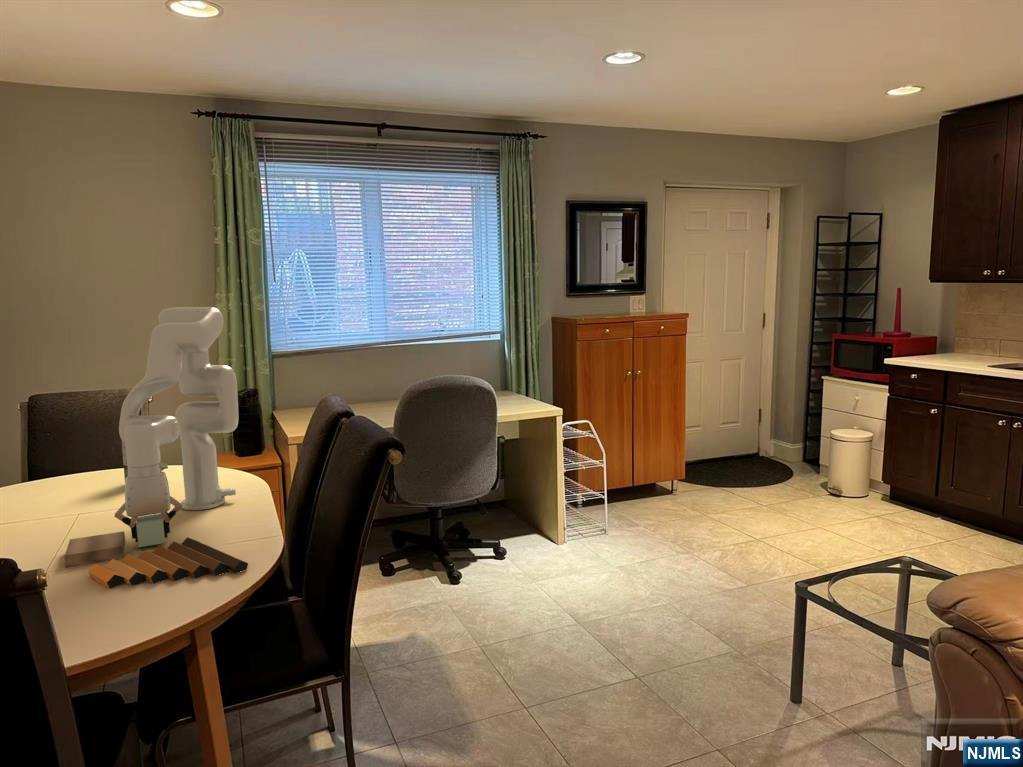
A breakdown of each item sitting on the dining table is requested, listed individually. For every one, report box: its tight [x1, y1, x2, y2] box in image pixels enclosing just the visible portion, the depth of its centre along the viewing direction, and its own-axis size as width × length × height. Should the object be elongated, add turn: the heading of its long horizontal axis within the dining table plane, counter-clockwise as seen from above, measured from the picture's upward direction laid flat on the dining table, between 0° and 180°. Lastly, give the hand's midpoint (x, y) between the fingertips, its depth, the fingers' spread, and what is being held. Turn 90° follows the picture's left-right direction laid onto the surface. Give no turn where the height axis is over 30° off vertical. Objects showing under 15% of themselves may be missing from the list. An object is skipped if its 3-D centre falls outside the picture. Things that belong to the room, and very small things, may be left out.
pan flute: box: [87, 537, 249, 589], centre depth 161 cm, size 25×3×25 cm
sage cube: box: [136, 513, 166, 548], centre depth 179 cm, size 6×6×6 cm
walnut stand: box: [64, 531, 126, 568], centre depth 173 cm, size 12×12×3 cm
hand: (151, 537), depth 179 cm, fingers closed on sage cube, 6 cm apart
